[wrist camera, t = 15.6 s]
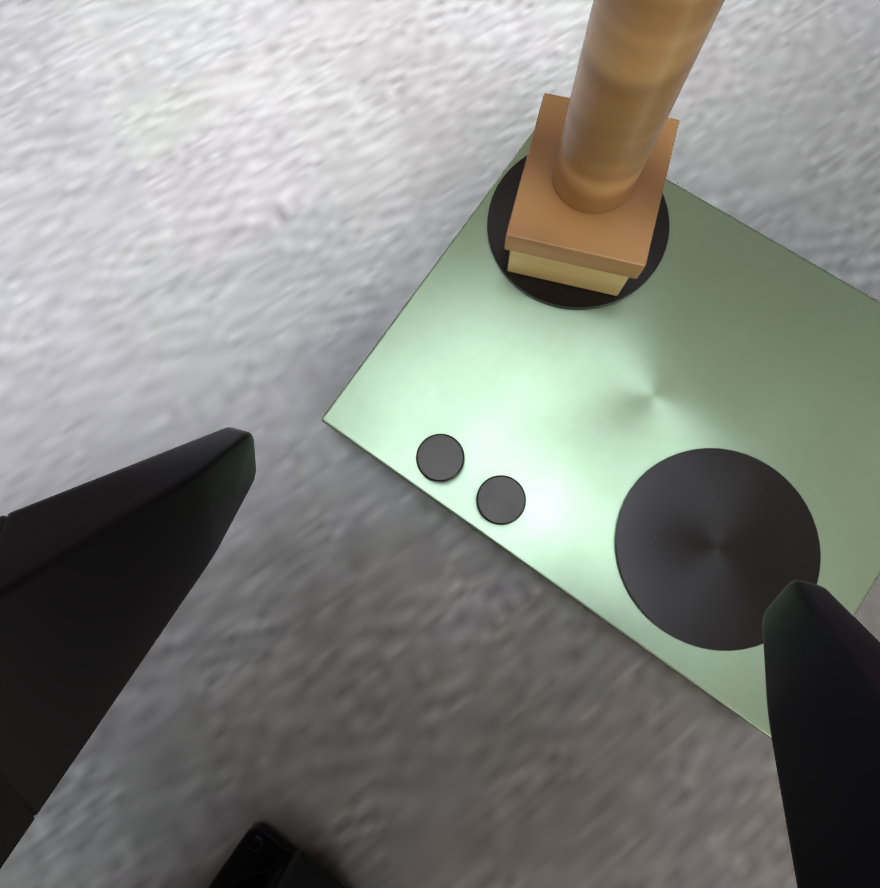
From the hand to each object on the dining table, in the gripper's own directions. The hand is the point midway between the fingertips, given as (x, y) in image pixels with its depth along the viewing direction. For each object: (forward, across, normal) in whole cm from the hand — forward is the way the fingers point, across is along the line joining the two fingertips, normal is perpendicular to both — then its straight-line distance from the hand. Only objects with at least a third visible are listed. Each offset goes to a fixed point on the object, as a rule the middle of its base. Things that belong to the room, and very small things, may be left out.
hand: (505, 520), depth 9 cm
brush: (+17, 0, -1) cm, 17 cm away
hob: (+14, -5, +5) cm, 16 cm away
